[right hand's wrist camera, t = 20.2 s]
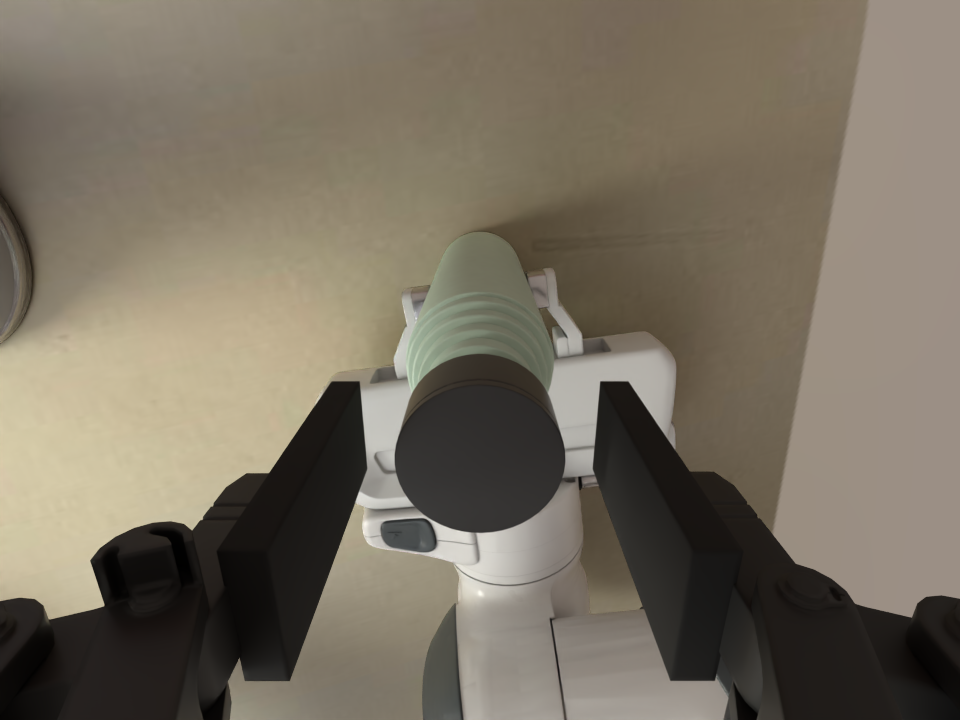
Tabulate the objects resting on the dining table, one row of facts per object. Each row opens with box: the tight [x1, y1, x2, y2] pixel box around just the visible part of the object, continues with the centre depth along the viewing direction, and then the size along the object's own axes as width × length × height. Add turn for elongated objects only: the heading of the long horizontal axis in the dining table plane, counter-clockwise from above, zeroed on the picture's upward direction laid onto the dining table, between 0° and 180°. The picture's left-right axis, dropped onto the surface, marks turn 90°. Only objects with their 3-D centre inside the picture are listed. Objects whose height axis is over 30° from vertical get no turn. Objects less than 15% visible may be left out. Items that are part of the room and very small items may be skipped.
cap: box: [394, 354, 565, 533], centre depth 14 cm, size 4×4×2 cm
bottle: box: [406, 232, 554, 393], centre depth 24 cm, size 5×5×22 cm
